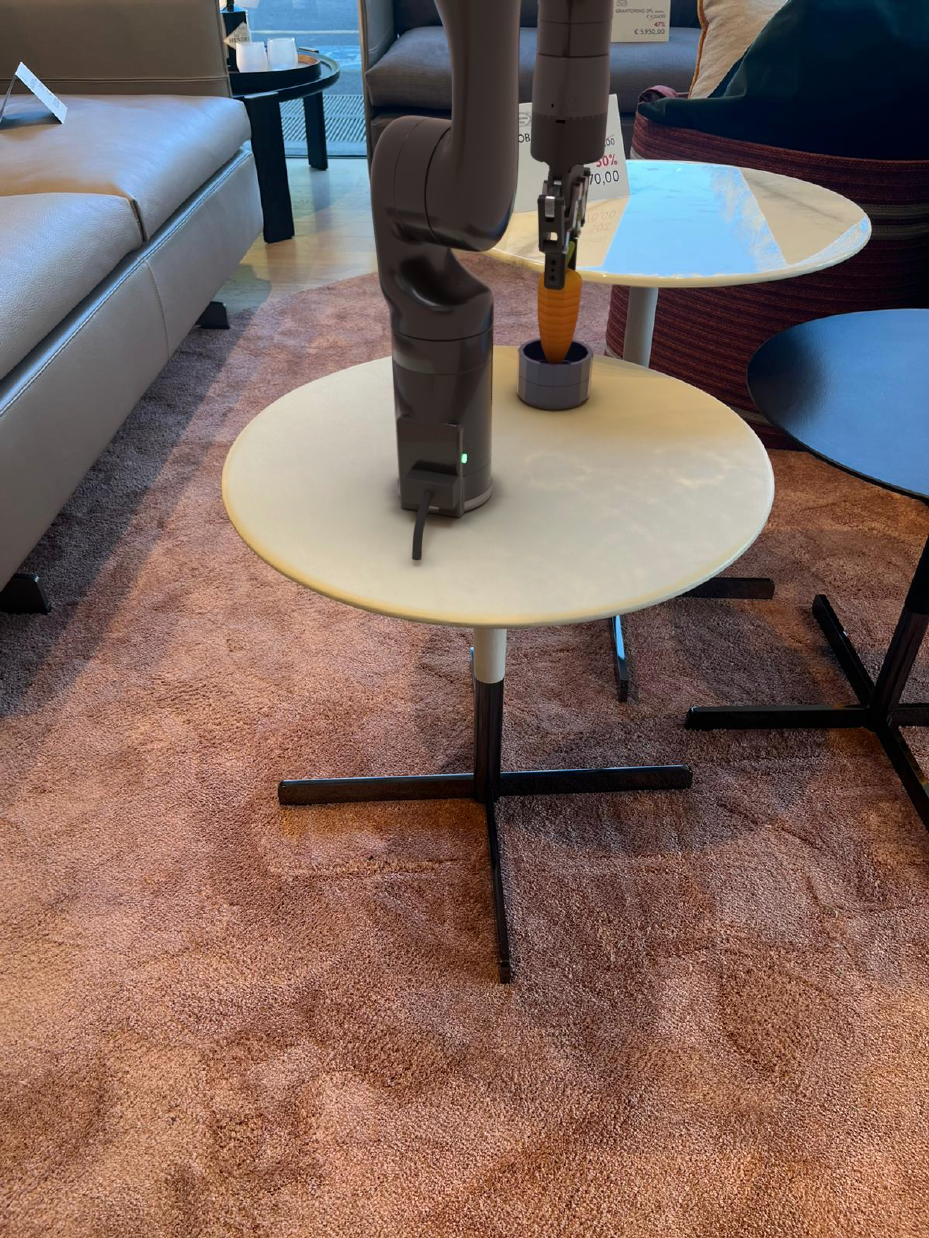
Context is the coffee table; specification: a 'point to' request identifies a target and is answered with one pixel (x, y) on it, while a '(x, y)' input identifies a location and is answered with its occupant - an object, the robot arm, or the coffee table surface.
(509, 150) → the robot arm
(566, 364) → the cylindrical container
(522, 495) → the coffee table surface
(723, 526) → the coffee table surface
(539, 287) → the carrot
